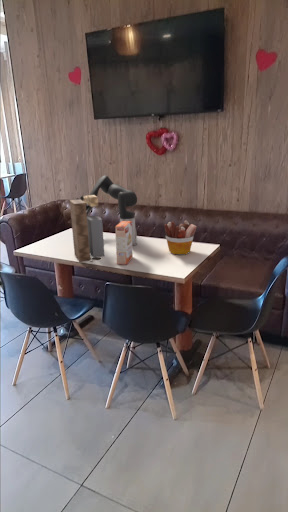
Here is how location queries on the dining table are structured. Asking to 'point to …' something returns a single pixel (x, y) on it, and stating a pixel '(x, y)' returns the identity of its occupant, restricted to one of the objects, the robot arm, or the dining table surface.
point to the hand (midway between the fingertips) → (86, 196)
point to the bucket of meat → (179, 237)
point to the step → (95, 236)
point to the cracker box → (124, 242)
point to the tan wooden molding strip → (91, 200)
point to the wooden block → (80, 230)
